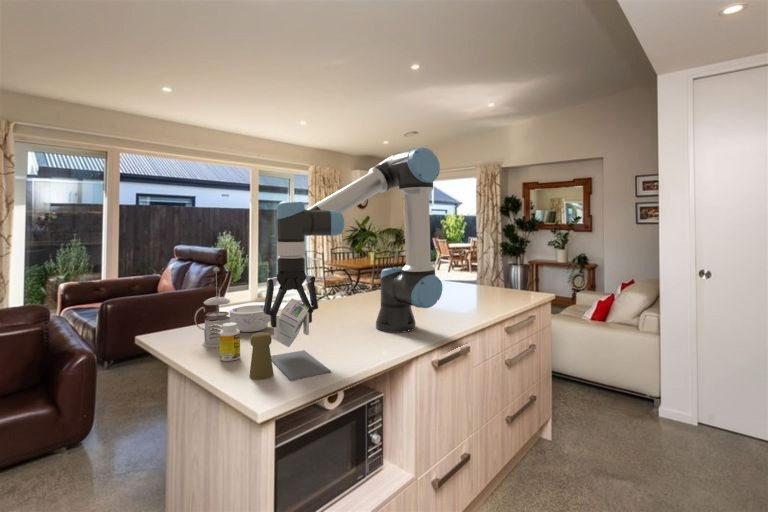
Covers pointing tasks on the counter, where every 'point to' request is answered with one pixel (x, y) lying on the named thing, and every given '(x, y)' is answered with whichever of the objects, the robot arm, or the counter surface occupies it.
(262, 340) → the olive pawn
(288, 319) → the syrup box
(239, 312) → the white bowl
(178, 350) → the counter surface
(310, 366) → the mat
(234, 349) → the supplement bottle
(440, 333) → the counter surface
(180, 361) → the counter surface
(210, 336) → the french press
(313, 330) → the counter surface
